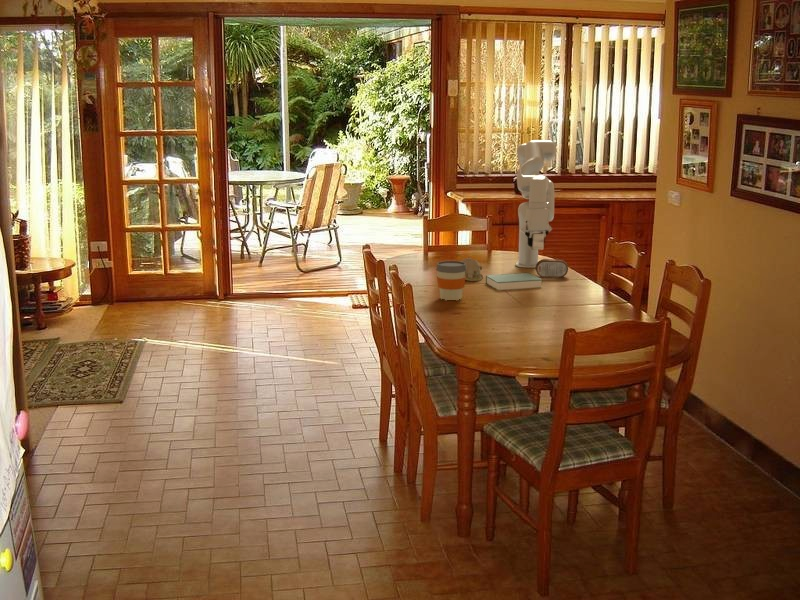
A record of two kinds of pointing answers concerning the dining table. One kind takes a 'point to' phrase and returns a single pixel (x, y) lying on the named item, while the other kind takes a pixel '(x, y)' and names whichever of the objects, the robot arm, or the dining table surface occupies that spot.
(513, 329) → the dining table surface
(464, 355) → the dining table surface
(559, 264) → the tin
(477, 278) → the ceramic model
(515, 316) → the dining table surface
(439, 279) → the reusable coffee cup
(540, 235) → the block
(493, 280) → the book
